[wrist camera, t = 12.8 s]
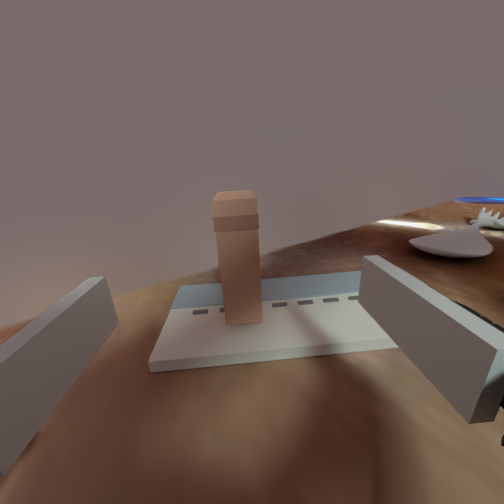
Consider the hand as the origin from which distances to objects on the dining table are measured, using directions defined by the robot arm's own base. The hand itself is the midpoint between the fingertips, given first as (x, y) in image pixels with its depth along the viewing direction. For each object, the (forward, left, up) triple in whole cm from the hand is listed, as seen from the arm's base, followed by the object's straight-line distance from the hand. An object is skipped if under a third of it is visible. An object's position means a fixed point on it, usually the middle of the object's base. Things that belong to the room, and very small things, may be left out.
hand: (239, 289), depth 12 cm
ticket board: (-9, -4, -8) cm, 13 cm away
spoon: (-46, -1, -8) cm, 47 cm away
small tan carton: (-4, -7, -6) cm, 10 cm away
